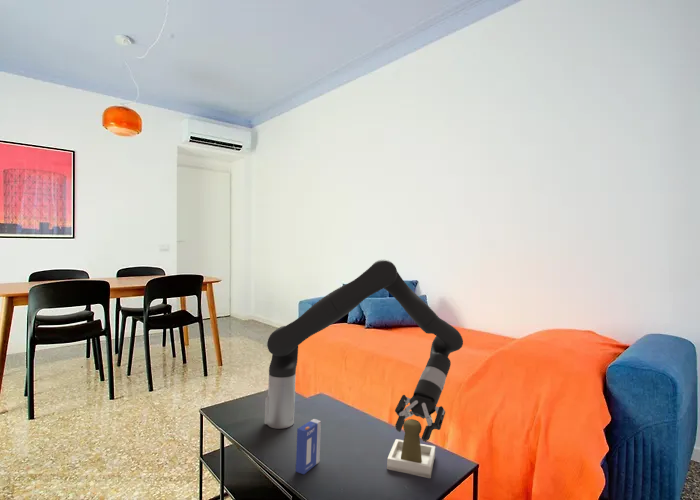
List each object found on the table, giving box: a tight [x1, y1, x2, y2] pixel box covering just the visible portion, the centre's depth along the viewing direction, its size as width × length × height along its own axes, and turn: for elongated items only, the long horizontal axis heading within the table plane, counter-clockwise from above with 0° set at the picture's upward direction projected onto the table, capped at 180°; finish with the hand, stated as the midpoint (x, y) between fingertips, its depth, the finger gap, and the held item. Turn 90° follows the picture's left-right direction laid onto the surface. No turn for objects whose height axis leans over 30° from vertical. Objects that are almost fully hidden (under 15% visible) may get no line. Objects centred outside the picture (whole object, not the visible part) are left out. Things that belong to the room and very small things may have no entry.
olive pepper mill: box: [401, 418, 422, 463], centre depth 110 cm, size 6×6×11 cm
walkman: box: [295, 418, 322, 475], centre depth 106 cm, size 8×3×12 cm, turn 150°
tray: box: [386, 438, 436, 479], centre depth 110 cm, size 12×12×3 cm
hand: (410, 435), depth 109 cm, fingers open, 8 cm apart
